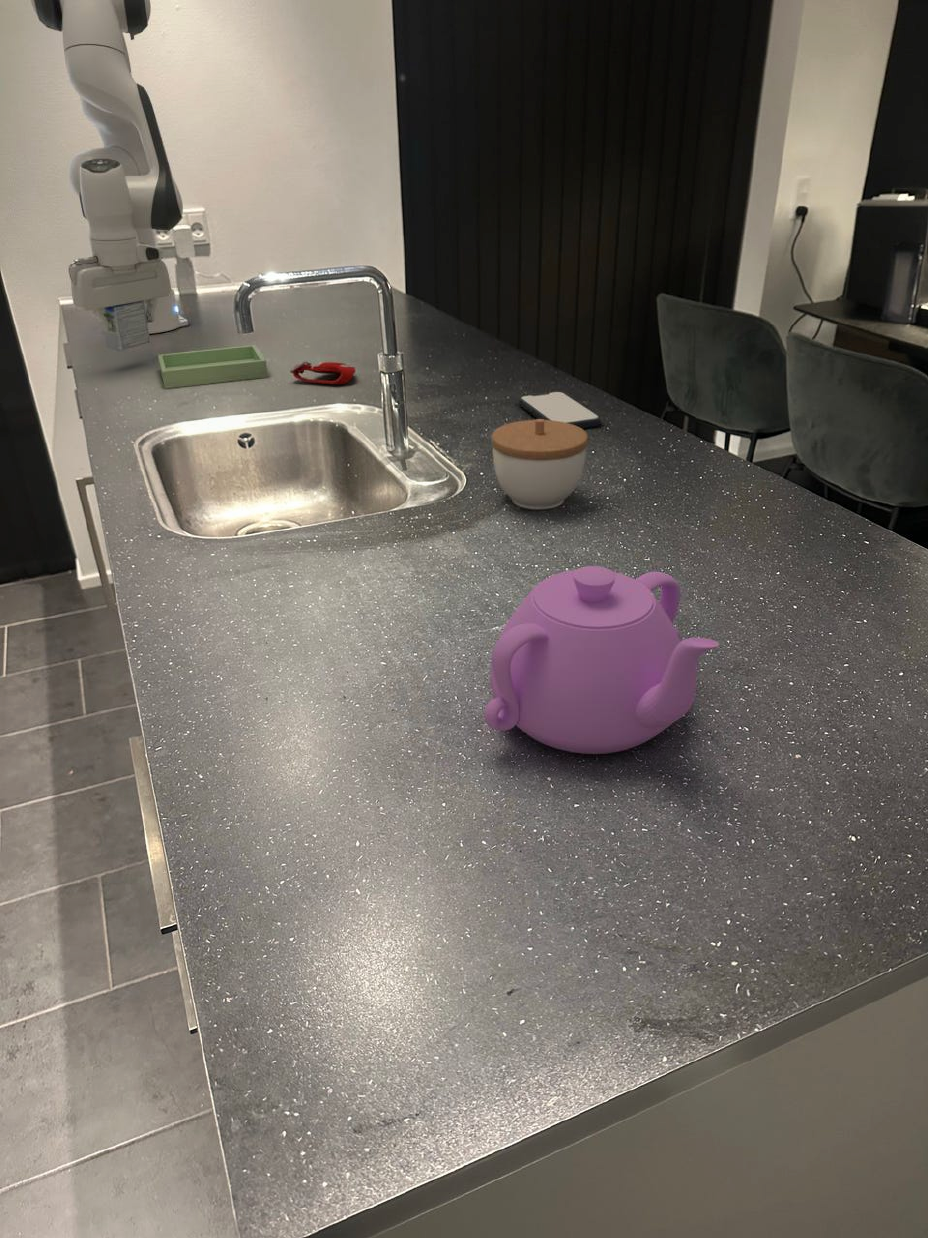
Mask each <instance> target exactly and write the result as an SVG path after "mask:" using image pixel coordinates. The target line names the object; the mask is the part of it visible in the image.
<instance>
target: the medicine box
mask: <svg viewBox="0 0 928 1238" xmlns="http://www.w3.org/2000/svg"><path fill="white" fill-rule="evenodd" d="M104 309H105V313H104V314H103V315H104V317H105V318H106V319H107V320H109V321H112V327H113V330H110V331H103V334H104V341H105V344H106V348H107V349H110V350H114V351H118V352H123V351H126V350H129V349H132V348H136V347H138V346H142V345H145V344H148V343H149V344H150V343H151V338H150V337H151V336H150V334H149V331H148V324H147V317H146V311H145V304H144V301H138V302H133V303H127V304H122V305H116V306H111V307H105V308H104Z"/></svg>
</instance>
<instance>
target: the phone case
mask: <svg viewBox="0 0 928 1238" xmlns="http://www.w3.org/2000/svg"><path fill="white" fill-rule="evenodd" d="M518 405H519V406H520V407H521V408H522V409H524V410H525V411H526V412H528V413H529V414H530V415H532V416H533V417H535V418H536V419H544V420H552V421H560V422H565V423H569V424H572V425H575V426H578V427H580V428H582V429H583V430H584V429H589V428H595V427H599V426H600V425H601V417H600V416H599V415H598V414H596V413H595V412H593V411H592V410H590V409H589V408H587V407H586V406H584V405H583V404H581V403H580V402H578V401H576V400H575V399H574V398H572V397H571V396H569V395H568V394H566V393H565V392H562V391H550V392H545V393H537V394H530V395H522V396H520V397H519V398H518Z"/></svg>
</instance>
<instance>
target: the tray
mask: <svg viewBox="0 0 928 1238" xmlns="http://www.w3.org/2000/svg"><path fill="white" fill-rule="evenodd" d="M157 358H158V364H159V370H160V374H161V378H162V381H163V385H164V389H173V388H175V389H176V388H182V387H192V386H202V385H209V384H210V385H211V384H218V383H219V384H220V383H229V382H236V381H245V380H255V379H263V378H269V377H268V376H269V375H268V369H267V368H268V367H267V361H266V359H265V357H264V356H263V354H262V353H261V351H260V350H259V349H258V346H257V345H255V344H252V345H243V346H232V347H223V348H222V347H221V348H212V349H201V350H193V351H191V350H190V351H182V352H173V353H162V354H157Z"/></svg>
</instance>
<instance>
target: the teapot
mask: <svg viewBox="0 0 928 1238" xmlns="http://www.w3.org/2000/svg"><path fill="white" fill-rule="evenodd" d="M660 587H661V590H660V596H659V600H658V599H657V598H656V596H655V594H654V593H653V592H654V591H655V590H657V589H658V588H660ZM680 601H681V587H680V585H679V582H678V581H677V580H676V579H675V578H674V577H673V576H671V575H669V574H667V573H665V572H662V571H655V570H654V571H649V572H646V573H644V574H642V575H640V576H639V577H637V578H636V579H635V578H633V577H631V576H630V575H629V576H628V575H626V574H623V573H619V572H615V571H612V570H611V569H609V568H607V567H604V566H599V565H587V566H582V567H579V568H577V569H572V570H566V571H561V572H558V573H556V574H553V575H551V576H549V577H546V578H544V579H542V580H541V581H540V582H539V583H538V584H536V586H535V587H534V588H533V589H531V591H529V593H528V594H527V595H525V597H524V598H523V600H522V602H520V603H519V605H518V606H517V608H515V611H514V612H513V613H512V615H511V616H510V618H509V619H508V621H507V622H506V624H505V626H504V628H503V629H502V631H501V633H500V636H499V638H498V639H497V641H496V643H495V645H494V647H493V649H492V653H491V665H490V674H489V676H490V678H489V685H490V691H491V694H492V697H493V698H492V699H491V700H490V701H489V702H488V703H487V704H486V705H485V708H484V711H483V718H484V721H485V723H486V725H487V727H489V728H490V729H493V730H495V731H501V732H502V731H503V732H506V731H510V730H512V729H513V728H515V726H516V727H517V728H518V729H519V730H521V731H522V732H523V733H525V734H526V735H527V736H529V737H531V738H532V739H534V740H536V741H537V742H539V743H541V744H544V745H546V746H549V747H551V748H554V749H557V750H560V751H565V752H570V753H575V754H582V755H583V754H585V755H586V754H587V755H601V754H612V753H618V752H622V751H627V750H629V749H632V748H635V747H637V746H639V745H642V744H644V743H645V742H647V741H649V740H651V739H653V738H654V737H656V736H657V735H659V734H661V733H663V731H665V730H667V728H668V727H670V726H671V725H672V724H674V723H676V722H677V721H678V720H680V719H681V718H683V717H684V716H685V715H686V714H687V713H688V711H689V710H690V708H691V707H692V706H693V704H694V700H695V697H696V694H697V684H698V683H697V673H698V672H697V671H698V670H697V669H698V662H699V660H700V658H701V656H702V655H703V654H704V652H708V651H709V650H713V649H716V648H717V647H719V646H720V643H719V642H718V641H716V640H713V639H709V638H705V637H689V638H685V639H683V640H682V636H681V634H680V632H679V630H678V629H677V627H675V626H674V622H675V619H676V616H677V613H678V610H679V606H680Z"/></svg>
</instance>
